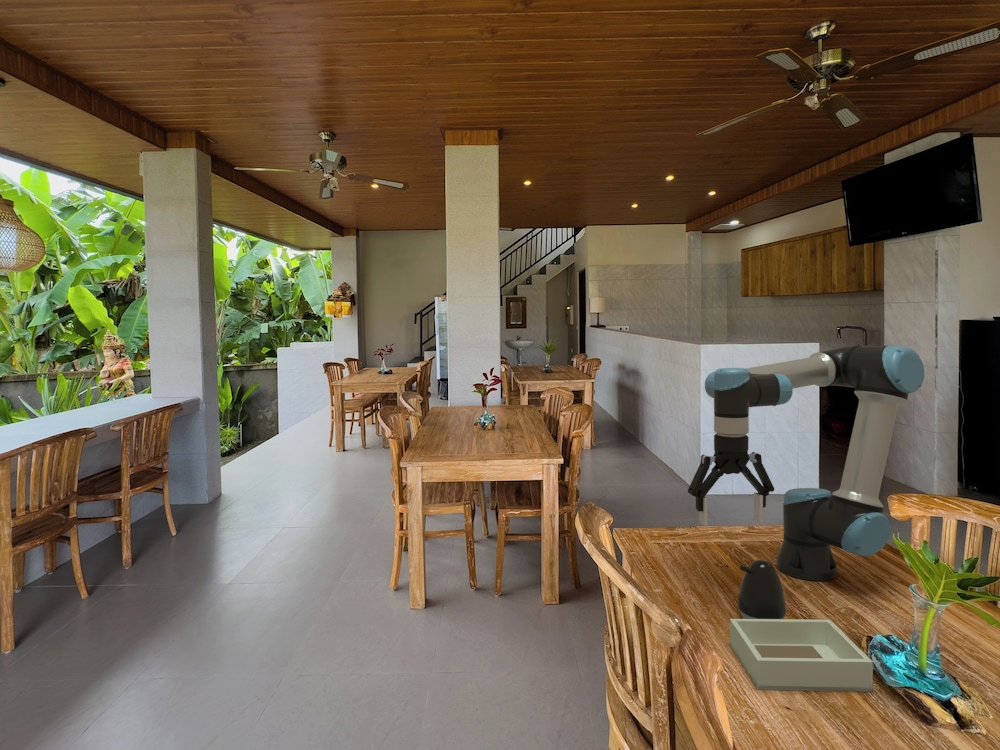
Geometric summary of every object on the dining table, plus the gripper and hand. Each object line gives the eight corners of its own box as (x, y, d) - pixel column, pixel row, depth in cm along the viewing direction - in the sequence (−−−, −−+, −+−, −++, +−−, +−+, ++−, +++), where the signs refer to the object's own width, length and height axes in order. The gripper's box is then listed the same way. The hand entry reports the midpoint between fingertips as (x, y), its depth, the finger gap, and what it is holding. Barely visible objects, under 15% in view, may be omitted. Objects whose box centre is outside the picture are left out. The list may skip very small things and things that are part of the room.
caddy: (829, 645, 124) (830, 619, 124) (872, 691, 108) (873, 662, 108) (729, 644, 126) (729, 618, 125) (757, 689, 110) (757, 660, 109)
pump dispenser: (728, 615, 139) (729, 553, 138) (770, 612, 140) (771, 551, 138) (750, 637, 128) (751, 570, 127) (795, 634, 129) (796, 568, 128)
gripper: (772, 429, 140) (771, 514, 142) (673, 433, 138) (673, 520, 139) (790, 434, 133) (790, 524, 134) (686, 439, 130) (687, 531, 132)
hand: (730, 522), depth 137 cm, fingers open, 13 cm apart
